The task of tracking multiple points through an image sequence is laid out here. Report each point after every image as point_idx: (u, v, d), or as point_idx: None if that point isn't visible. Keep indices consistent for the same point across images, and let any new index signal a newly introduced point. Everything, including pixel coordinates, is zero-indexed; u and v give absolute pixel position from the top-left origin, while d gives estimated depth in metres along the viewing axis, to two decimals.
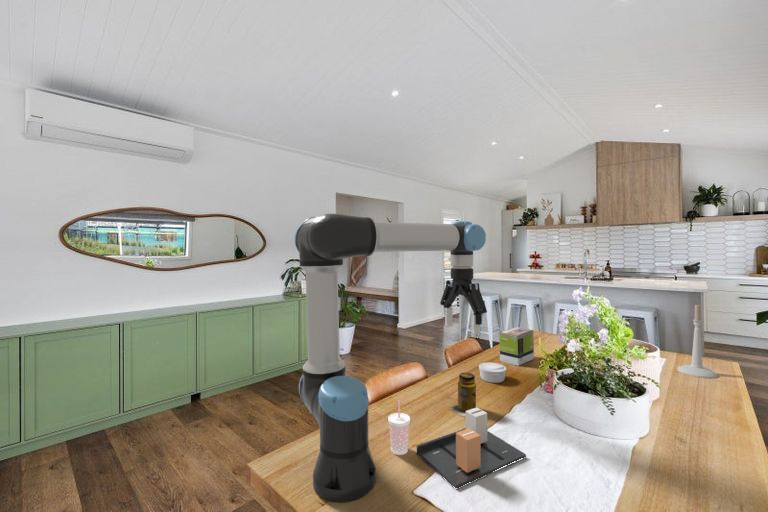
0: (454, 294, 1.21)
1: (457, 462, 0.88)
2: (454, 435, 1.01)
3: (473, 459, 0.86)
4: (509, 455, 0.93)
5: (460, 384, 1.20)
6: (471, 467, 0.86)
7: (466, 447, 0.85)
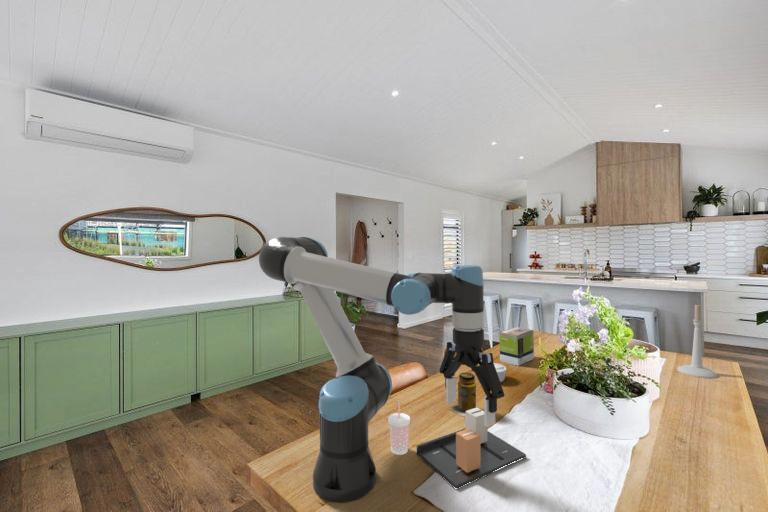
0: (458, 362, 0.89)
1: (457, 462, 0.88)
2: (454, 435, 1.01)
3: (473, 459, 0.86)
4: (509, 455, 0.93)
5: (460, 384, 1.20)
6: (471, 467, 0.86)
7: (466, 447, 0.85)
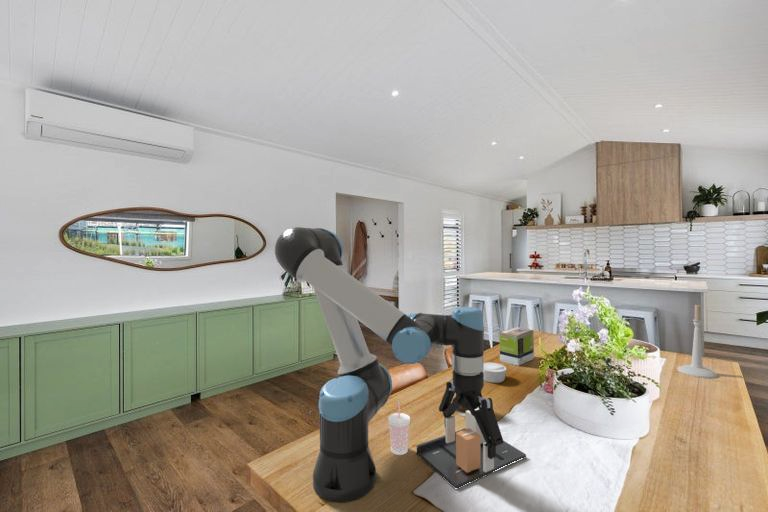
0: (457, 403, 0.90)
1: (457, 462, 0.88)
2: None
3: (473, 459, 0.86)
4: (509, 455, 0.93)
5: None
6: (471, 467, 0.86)
7: (466, 447, 0.85)
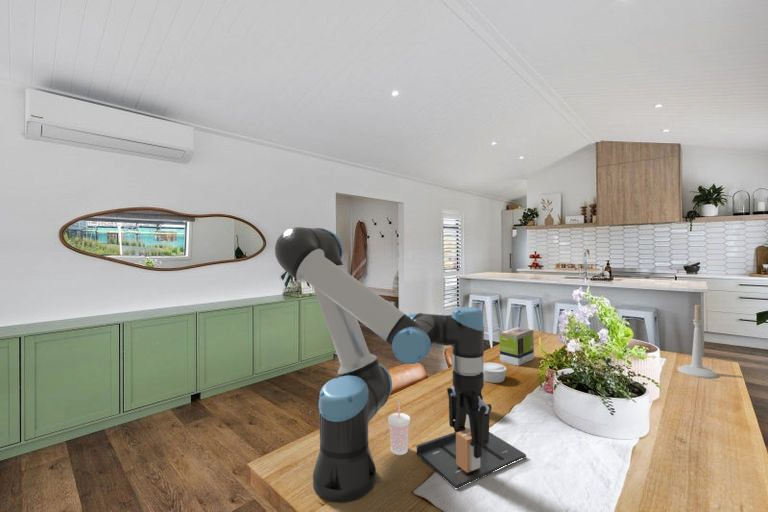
0: (462, 408, 0.88)
1: (457, 462, 0.88)
2: (454, 435, 1.01)
3: None
4: (509, 455, 0.93)
5: None
6: None
7: (466, 447, 0.85)
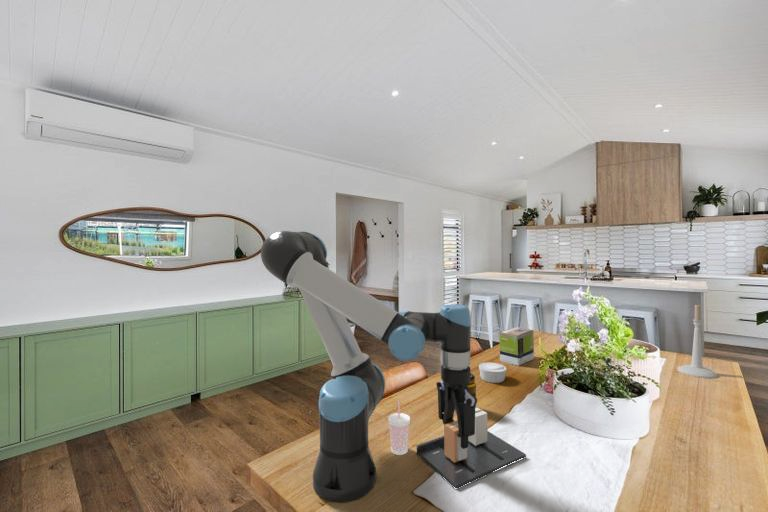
0: (450, 401, 0.92)
1: (445, 453, 0.92)
2: None
3: None
4: (509, 455, 0.93)
5: None
6: None
7: (453, 438, 0.89)
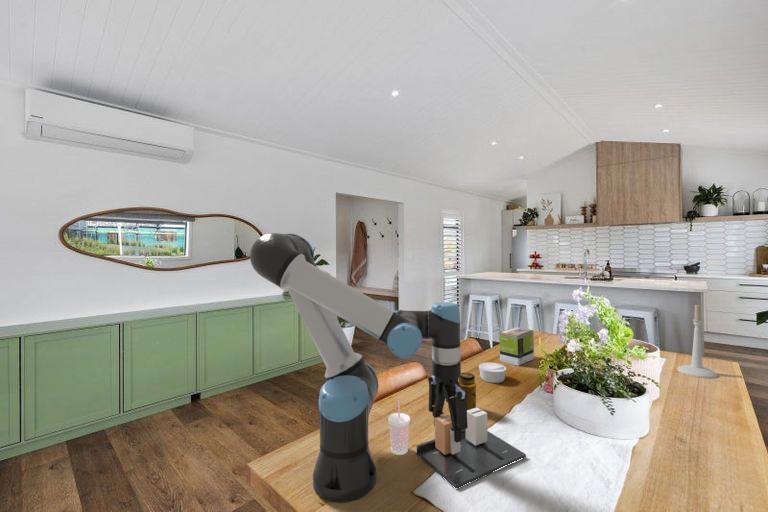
0: (440, 395, 0.96)
1: (436, 445, 0.95)
2: None
3: (450, 442, 0.93)
4: (509, 455, 0.93)
5: (460, 384, 1.20)
6: (448, 450, 0.93)
7: (444, 431, 0.92)
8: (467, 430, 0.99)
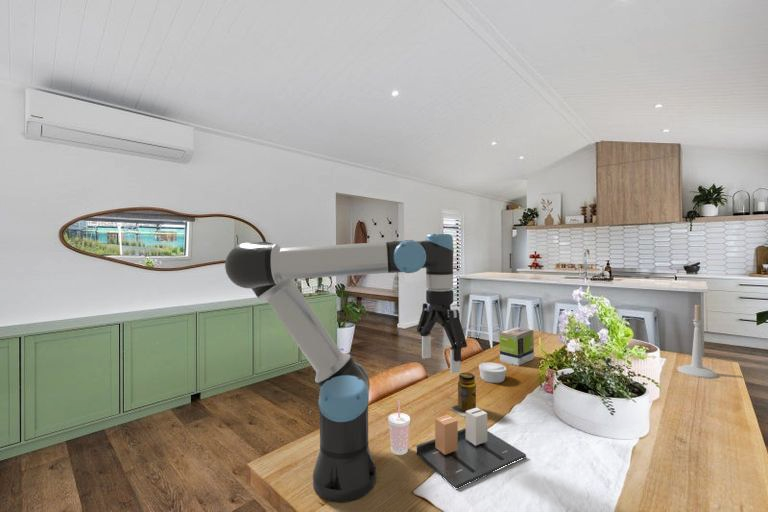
0: (431, 321, 1.01)
1: (436, 445, 0.95)
2: None
3: (450, 442, 0.93)
4: (509, 455, 0.93)
5: (460, 384, 1.20)
6: (448, 450, 0.93)
7: (444, 431, 0.92)
8: (467, 430, 0.99)
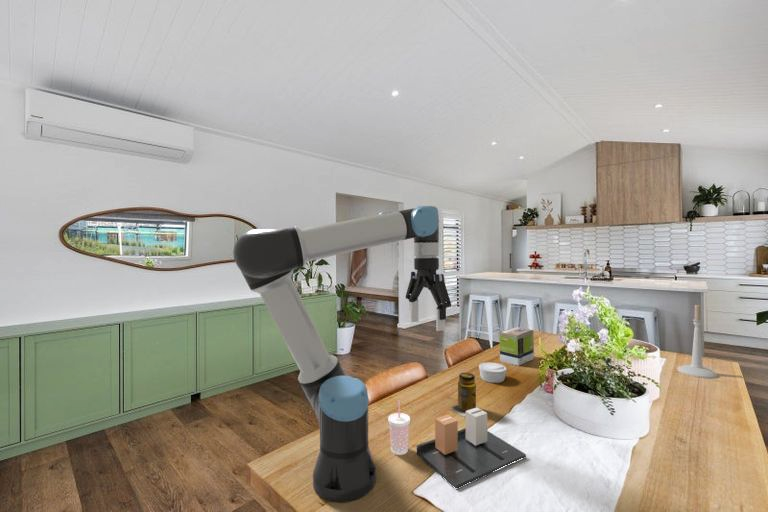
0: (419, 286, 1.10)
1: (436, 445, 0.95)
2: None
3: (450, 442, 0.93)
4: (509, 455, 0.93)
5: (460, 384, 1.20)
6: (448, 450, 0.93)
7: (444, 431, 0.92)
8: (467, 430, 0.99)
